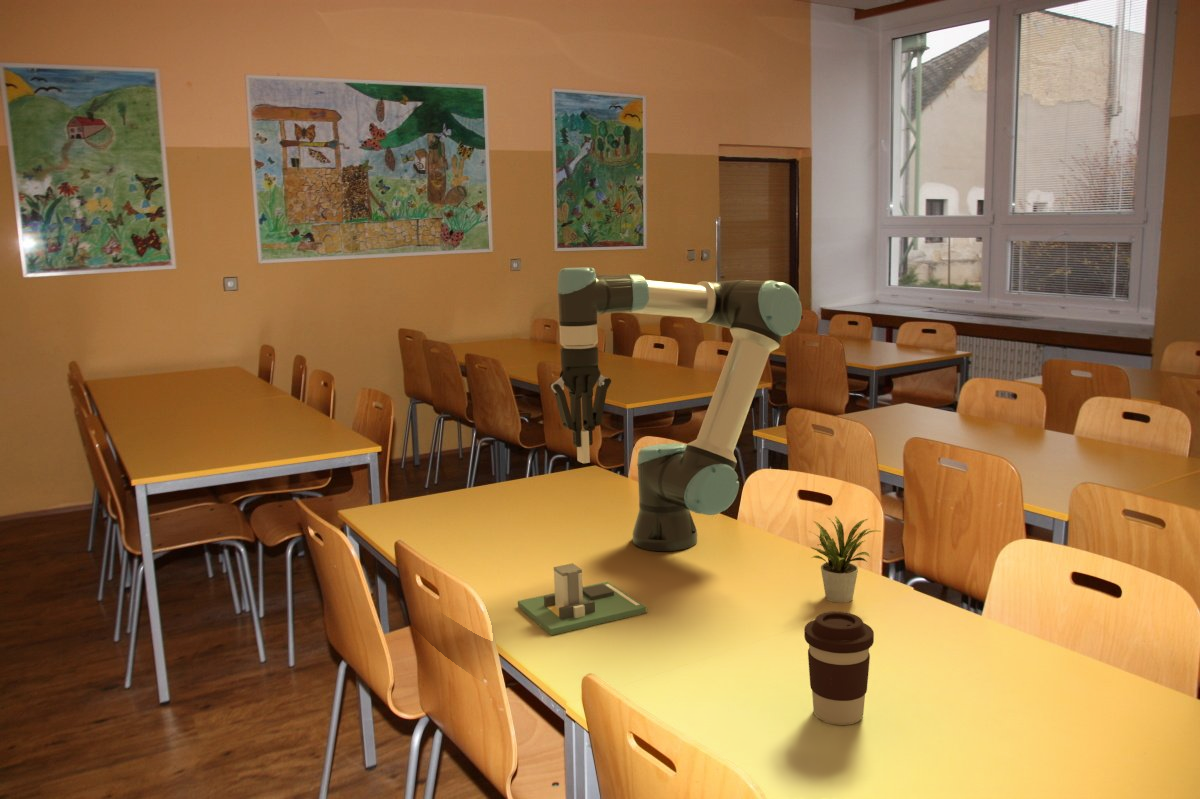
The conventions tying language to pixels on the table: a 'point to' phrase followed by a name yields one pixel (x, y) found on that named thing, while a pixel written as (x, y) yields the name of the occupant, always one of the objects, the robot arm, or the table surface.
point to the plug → (568, 585)
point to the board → (582, 609)
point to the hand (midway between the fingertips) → (583, 461)
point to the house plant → (840, 562)
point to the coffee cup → (838, 665)
